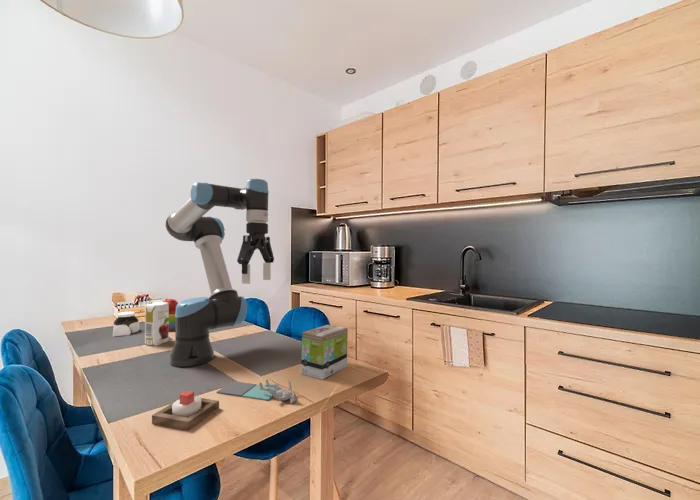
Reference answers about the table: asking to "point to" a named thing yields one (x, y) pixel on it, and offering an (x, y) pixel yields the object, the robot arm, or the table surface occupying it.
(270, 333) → the table surface
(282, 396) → the soldier figure
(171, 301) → the stacking bear
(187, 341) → the robot arm
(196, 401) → the white and red button
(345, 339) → the tea box
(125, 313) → the spread jar
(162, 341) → the juice carton
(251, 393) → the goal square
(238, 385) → the dark grey square tile
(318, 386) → the table surface
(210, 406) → the frame
